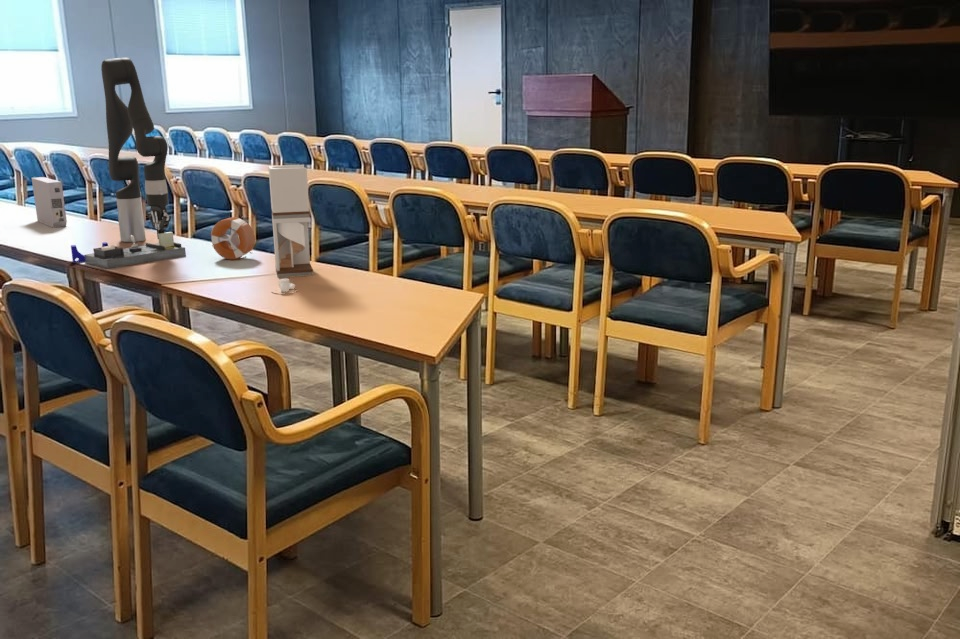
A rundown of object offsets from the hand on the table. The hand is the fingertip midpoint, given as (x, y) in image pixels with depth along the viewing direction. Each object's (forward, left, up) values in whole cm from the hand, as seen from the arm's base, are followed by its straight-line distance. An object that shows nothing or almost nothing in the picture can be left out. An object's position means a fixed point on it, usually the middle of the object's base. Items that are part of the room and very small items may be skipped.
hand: (161, 239), depth 328 cm
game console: (-106, +7, -6) cm, 106 cm away
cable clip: (-11, -22, -6) cm, 25 cm away
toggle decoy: (+1, -11, -1) cm, 11 cm away
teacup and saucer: (+85, -5, -6) cm, 85 cm away
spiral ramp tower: (+65, +10, -6) cm, 66 cm away
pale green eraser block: (+3, 0, -2) cm, 4 cm away
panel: (+1, -11, -6) cm, 12 cm away
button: (+1, -21, -2) cm, 21 cm away
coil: (+28, +12, -6) cm, 31 cm away
